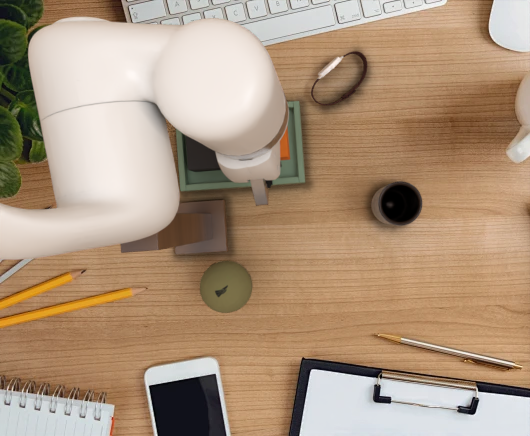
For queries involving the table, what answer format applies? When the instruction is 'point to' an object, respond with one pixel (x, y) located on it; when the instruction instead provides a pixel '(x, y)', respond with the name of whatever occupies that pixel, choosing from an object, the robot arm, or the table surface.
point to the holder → (216, 180)
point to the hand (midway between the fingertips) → (264, 139)
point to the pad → (200, 157)
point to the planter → (397, 203)
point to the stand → (189, 231)
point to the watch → (331, 66)
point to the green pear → (226, 286)
